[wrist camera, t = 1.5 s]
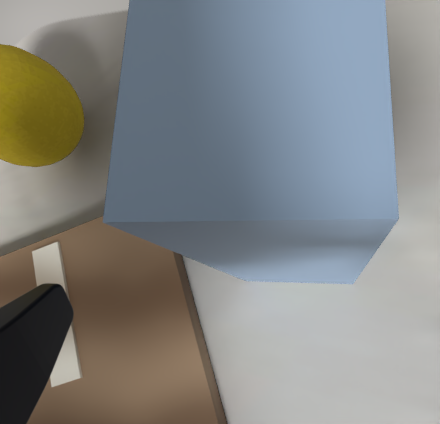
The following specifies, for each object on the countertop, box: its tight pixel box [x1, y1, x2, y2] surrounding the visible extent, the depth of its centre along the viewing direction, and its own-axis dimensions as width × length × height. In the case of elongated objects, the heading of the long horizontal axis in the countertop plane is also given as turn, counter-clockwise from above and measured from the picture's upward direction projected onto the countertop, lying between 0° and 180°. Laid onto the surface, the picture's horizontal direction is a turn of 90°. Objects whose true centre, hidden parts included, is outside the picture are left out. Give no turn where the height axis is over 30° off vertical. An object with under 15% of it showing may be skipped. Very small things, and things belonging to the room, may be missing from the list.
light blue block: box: [103, 0, 399, 284], centre depth 13 cm, size 5×5×13 cm
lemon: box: [0, 44, 84, 167], centre depth 21 cm, size 6×6×8 cm
